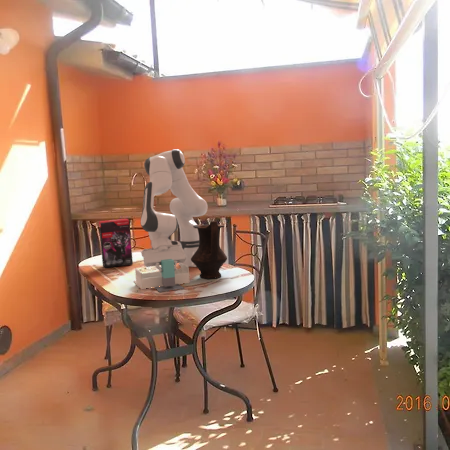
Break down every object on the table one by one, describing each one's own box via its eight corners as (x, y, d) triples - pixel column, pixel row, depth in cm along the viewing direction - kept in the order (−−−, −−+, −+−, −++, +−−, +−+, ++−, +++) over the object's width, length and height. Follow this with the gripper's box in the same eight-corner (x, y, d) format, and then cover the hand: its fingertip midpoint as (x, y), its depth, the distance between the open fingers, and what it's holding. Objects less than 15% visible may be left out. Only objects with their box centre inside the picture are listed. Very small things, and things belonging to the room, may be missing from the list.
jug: (187, 275, 264) (184, 218, 260) (220, 271, 270) (217, 215, 266) (199, 284, 244) (196, 223, 240) (235, 279, 251) (232, 219, 247)
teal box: (172, 283, 241) (170, 258, 240) (175, 285, 237) (173, 260, 235) (162, 284, 240) (160, 259, 238) (165, 286, 235) (163, 261, 233)
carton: (178, 275, 265) (178, 260, 263) (189, 282, 248) (188, 266, 247) (133, 281, 256) (132, 266, 255) (141, 289, 239) (140, 273, 238)
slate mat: (178, 284, 245) (178, 283, 245) (184, 288, 237) (184, 287, 236) (154, 288, 240) (154, 287, 240) (159, 292, 232) (159, 291, 232)
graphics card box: (104, 268, 290) (100, 222, 287) (101, 266, 296) (98, 220, 293) (133, 265, 298) (130, 219, 294) (130, 263, 304) (127, 218, 300)
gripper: (141, 245, 238) (147, 269, 231) (182, 241, 246) (189, 264, 238) (139, 253, 243) (145, 277, 235) (180, 249, 251) (187, 272, 243)
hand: (168, 270), depth 237 cm, fingers closed on teal box, 5 cm apart
